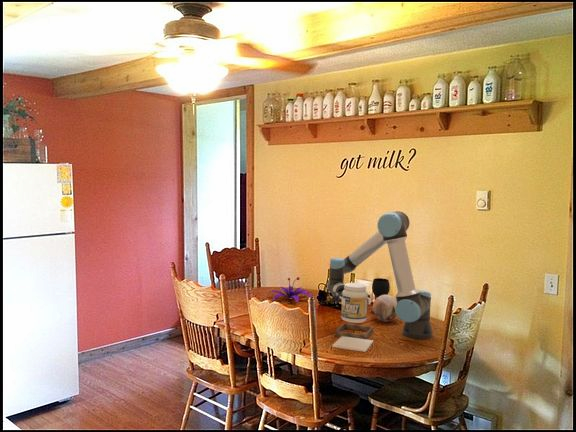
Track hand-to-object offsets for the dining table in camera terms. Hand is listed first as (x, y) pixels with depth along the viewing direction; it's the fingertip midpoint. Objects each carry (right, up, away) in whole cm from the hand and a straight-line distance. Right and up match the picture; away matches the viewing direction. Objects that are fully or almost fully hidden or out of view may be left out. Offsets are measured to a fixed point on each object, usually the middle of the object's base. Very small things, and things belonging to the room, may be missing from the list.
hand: (357, 302), depth 244 cm
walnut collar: (+1, -20, +22) cm, 30 cm away
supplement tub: (-1, -9, +4) cm, 10 cm away
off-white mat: (-1, -21, +5) cm, 22 cm away
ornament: (+22, -19, +47) cm, 56 cm away
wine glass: (+22, -17, +66) cm, 71 cm away
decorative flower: (-31, -14, +94) cm, 100 cm away
